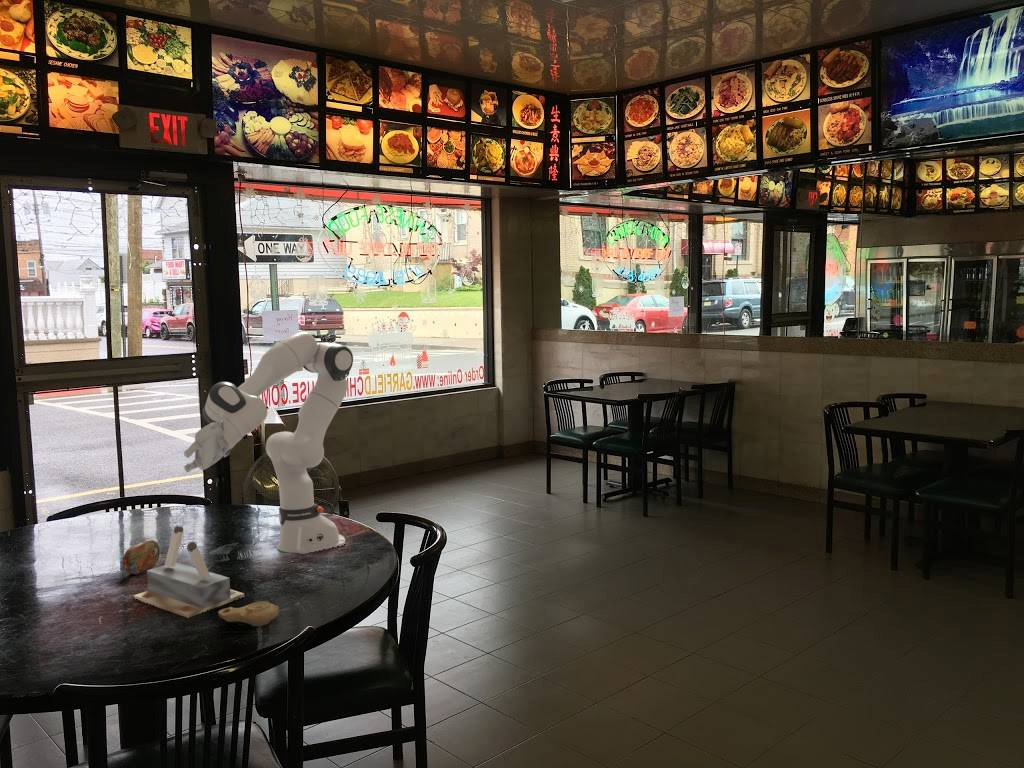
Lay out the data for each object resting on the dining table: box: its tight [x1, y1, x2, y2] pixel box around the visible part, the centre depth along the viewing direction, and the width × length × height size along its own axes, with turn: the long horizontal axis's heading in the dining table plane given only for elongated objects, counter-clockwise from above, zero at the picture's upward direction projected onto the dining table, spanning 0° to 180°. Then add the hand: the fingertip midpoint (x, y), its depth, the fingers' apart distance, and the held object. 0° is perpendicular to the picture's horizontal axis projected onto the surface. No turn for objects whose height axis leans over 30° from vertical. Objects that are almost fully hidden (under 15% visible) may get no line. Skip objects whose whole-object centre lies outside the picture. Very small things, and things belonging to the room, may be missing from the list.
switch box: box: [133, 561, 245, 619], centre depth 237 cm, size 18×26×7 cm
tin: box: [122, 539, 160, 575], centre depth 262 cm, size 15×3×8 cm, turn 168°
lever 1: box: [164, 525, 184, 567], centre depth 242 cm, size 3×3×12 cm
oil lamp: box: [217, 600, 280, 627], centre depth 217 cm, size 11×14×5 cm
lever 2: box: [186, 541, 211, 580], centre depth 228 cm, size 3×3×12 cm
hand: (185, 462), depth 245 cm, fingers open, 8 cm apart
